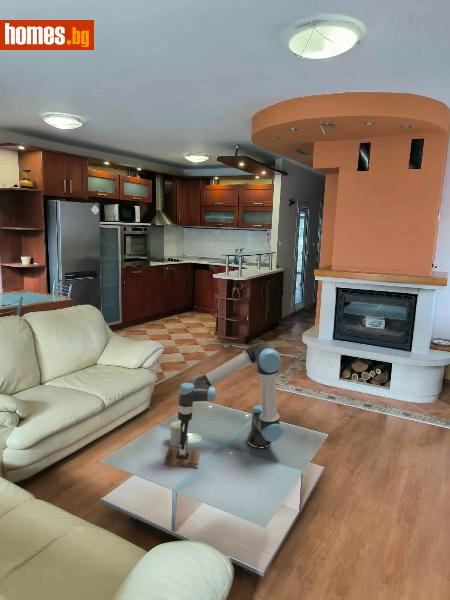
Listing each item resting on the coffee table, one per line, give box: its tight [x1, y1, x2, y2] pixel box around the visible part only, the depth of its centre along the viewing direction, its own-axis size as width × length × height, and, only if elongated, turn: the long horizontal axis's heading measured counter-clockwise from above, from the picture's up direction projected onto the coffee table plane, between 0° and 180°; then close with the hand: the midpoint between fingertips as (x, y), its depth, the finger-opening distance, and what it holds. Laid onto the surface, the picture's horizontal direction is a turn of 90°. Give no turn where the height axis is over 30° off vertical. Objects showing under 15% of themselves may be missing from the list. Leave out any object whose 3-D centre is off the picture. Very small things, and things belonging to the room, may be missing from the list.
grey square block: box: [177, 435, 189, 459], centre depth 223 cm, size 4×4×11 cm
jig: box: [163, 445, 201, 468], centre depth 224 cm, size 18×12×5 cm, turn 89°
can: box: [169, 420, 181, 448], centre depth 241 cm, size 9×9×12 cm
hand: (182, 451), depth 224 cm, fingers closed on grey square block, 4 cm apart
